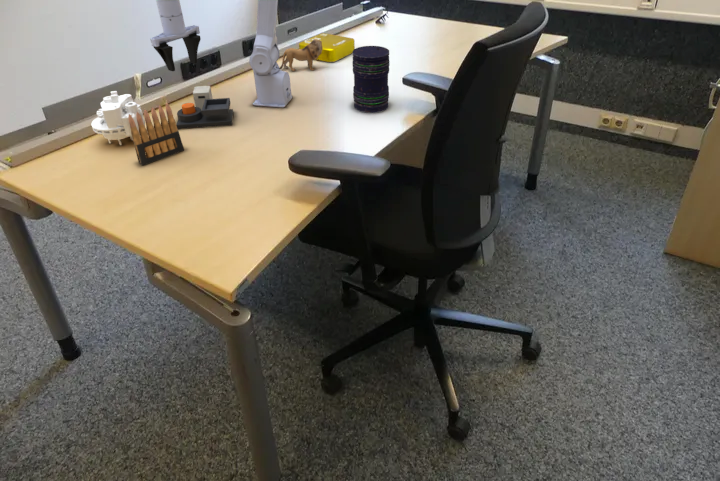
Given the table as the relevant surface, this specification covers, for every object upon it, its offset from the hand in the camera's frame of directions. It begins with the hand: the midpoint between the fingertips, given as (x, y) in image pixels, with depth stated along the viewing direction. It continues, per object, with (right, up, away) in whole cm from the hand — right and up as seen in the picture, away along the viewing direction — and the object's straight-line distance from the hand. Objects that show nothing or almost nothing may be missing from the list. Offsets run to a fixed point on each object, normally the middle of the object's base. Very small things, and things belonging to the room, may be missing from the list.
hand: (182, 66), depth 143 cm
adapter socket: (+11, -14, -7) cm, 19 cm away
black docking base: (+8, -16, -6) cm, 19 cm away
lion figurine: (+31, +8, +26) cm, 41 cm away
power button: (+4, -15, -8) cm, 17 cm away
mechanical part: (-10, -23, -14) cm, 29 cm away
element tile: (+38, +17, +37) cm, 56 cm away
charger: (+6, -11, +1) cm, 13 cm away
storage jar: (+52, -11, +1) cm, 54 cm away
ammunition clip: (+2, -29, -21) cm, 36 cm away
